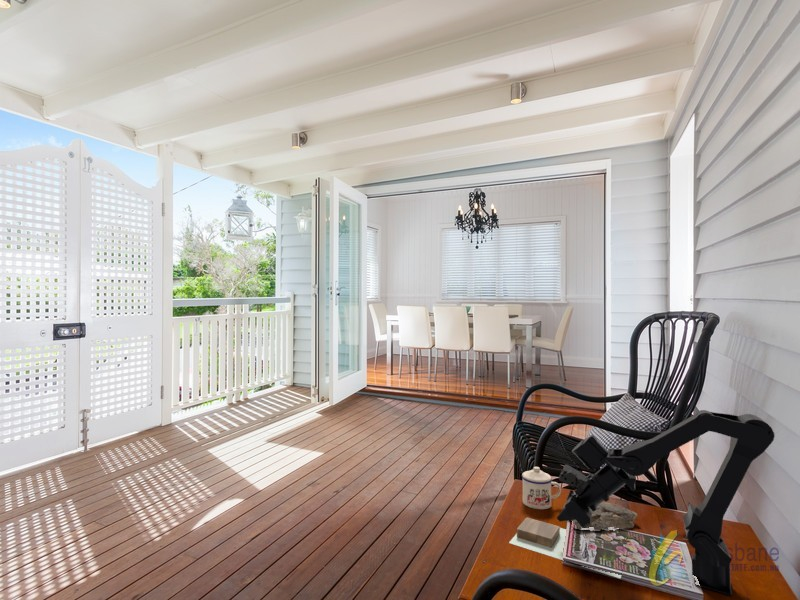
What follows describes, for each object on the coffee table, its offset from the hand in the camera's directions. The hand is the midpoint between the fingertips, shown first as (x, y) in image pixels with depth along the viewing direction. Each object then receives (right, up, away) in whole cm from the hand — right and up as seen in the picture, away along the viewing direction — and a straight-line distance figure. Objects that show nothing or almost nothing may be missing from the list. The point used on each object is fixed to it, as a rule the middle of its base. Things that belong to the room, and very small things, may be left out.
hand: (558, 519), depth 111 cm
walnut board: (-1, -5, 0) cm, 5 cm away
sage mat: (+2, -6, -2) cm, 7 cm away
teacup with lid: (+3, -8, +23) cm, 24 cm away
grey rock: (+17, -8, +12) cm, 22 cm away
